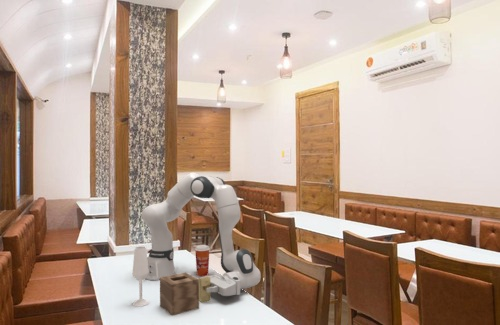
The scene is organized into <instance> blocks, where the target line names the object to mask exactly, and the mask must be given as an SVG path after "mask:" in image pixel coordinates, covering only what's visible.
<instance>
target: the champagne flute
mask: <svg viewBox="0 0 500 325" xmlns="http://www.w3.org/2000/svg"><path fill="white" fill-rule="evenodd" d="M133 250H134V252H133V253H134V254H133V265H132V276H133V278H134V279H135V280H137V281H138V282H139V287H138V288H139V290H138V291H139V293H138V294H139V295H138V296H139V298H138V299H137V300H135V302H133V303H132V305H133V306H134V307H143V306H147V305H149V303H150V301H148V300H146V299H144V298H143V281H144V280H146V279H145V278H146V277H147V275H148V273H149V270H148V260H147V257H148V252H147V251H148V250H147V247H146V246H143V245H141V246H136V247H134V249H133Z"/></svg>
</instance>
